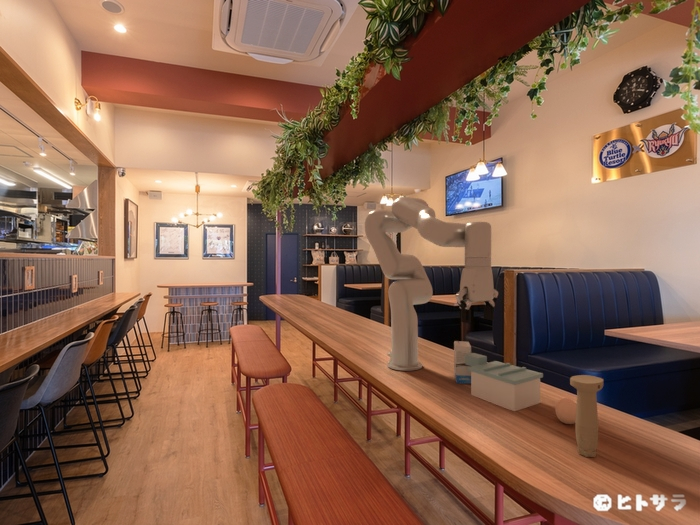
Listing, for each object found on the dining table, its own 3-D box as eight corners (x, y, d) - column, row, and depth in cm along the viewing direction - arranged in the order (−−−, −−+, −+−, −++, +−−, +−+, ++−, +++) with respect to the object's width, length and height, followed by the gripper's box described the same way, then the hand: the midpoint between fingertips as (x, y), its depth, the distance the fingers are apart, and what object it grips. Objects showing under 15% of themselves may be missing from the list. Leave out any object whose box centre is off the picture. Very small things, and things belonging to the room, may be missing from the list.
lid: (455, 366, 114) (455, 356, 114) (482, 360, 120) (482, 351, 120) (514, 385, 97) (514, 373, 97) (543, 377, 103) (543, 366, 103)
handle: (564, 452, 77) (564, 378, 77) (585, 445, 80) (585, 373, 80) (588, 463, 73) (588, 385, 72) (609, 456, 75) (609, 380, 75)
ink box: (472, 384, 119) (472, 346, 119) (455, 383, 120) (455, 346, 120) (469, 376, 127) (469, 340, 127) (453, 375, 128) (453, 340, 128)
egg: (550, 421, 92) (550, 396, 92) (565, 417, 94) (565, 393, 94) (570, 429, 87) (570, 404, 87) (585, 425, 89) (585, 400, 89)
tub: (471, 394, 110) (471, 370, 109) (496, 388, 115) (496, 364, 115) (514, 411, 98) (514, 384, 97) (540, 402, 103) (540, 377, 103)
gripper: (487, 263, 121) (486, 316, 122) (447, 263, 112) (447, 321, 113) (507, 263, 115) (507, 320, 115) (467, 264, 106) (466, 325, 106)
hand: (477, 321), depth 114 cm, fingers open, 9 cm apart
